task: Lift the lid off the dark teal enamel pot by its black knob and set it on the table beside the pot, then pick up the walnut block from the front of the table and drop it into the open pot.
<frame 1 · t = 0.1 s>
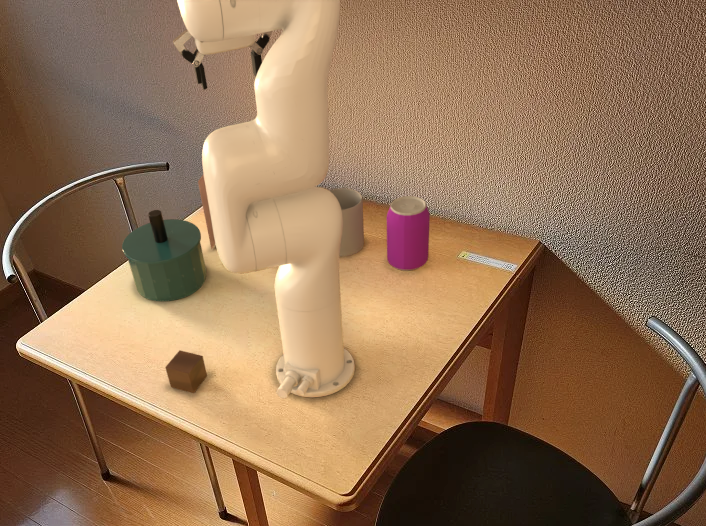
hand: (230, 81, 130), 31 cm above the table, tool pointing down, fingers open, 9 cm apart
beverage can: (407, 262, 138), on the table
greeting card: (233, 236, 152), on the table
lid: (162, 242, 136), point 8 cm above the table, touching pot
cup: (342, 245, 145), on the table
pot: (171, 280, 142), on the table
block: (189, 381, 119), on the table
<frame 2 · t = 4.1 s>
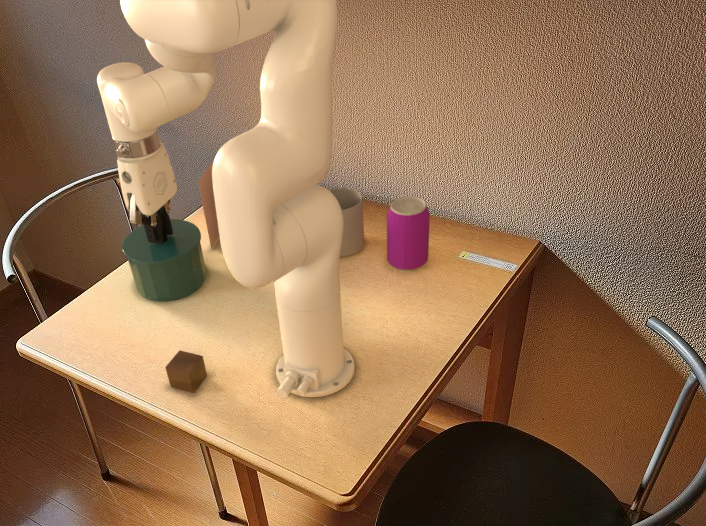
hand: (160, 237, 135), 10 cm above the table, tool pointing down, fingers closed on lid, 2 cm apart
lid: (162, 242, 136), point 9 cm above the table, touching gripper, pot
everything else where it was.
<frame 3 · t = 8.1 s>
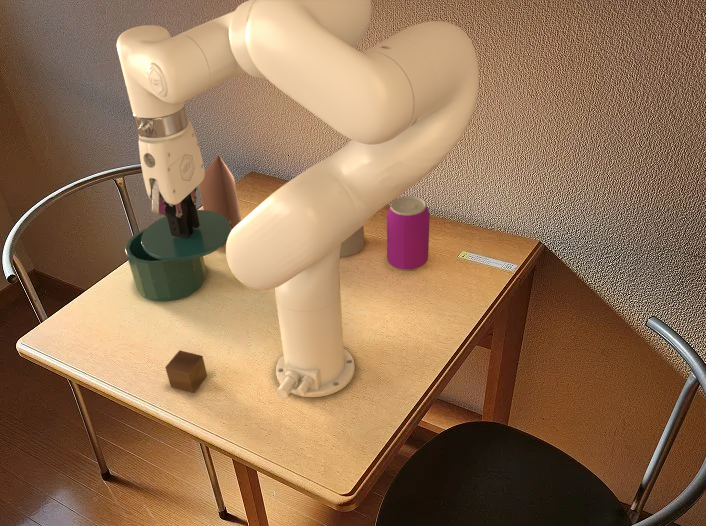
hand: (185, 230, 119), 18 cm above the table, tool pointing down, fingers closed on lid, 2 cm apart
lid: (186, 235, 119), point 17 cm above the table, touching gripper
everything else where it was.
when the fingers open (2 cm above the table, at t = 11.9 s): lid stays where it is, point 1 cm above the table.
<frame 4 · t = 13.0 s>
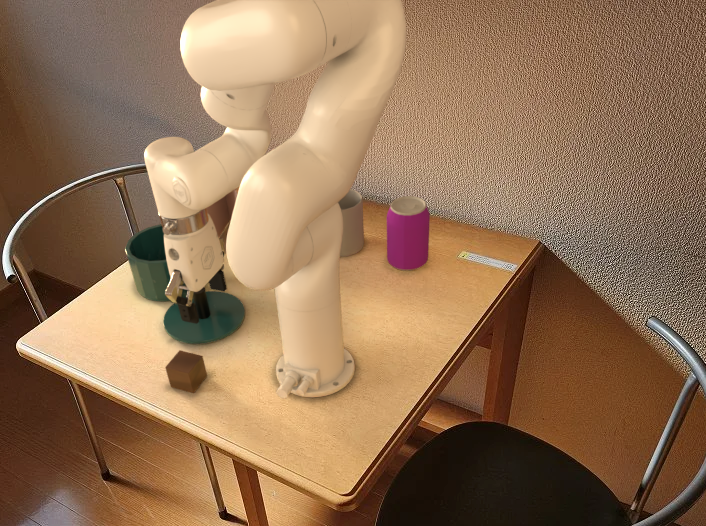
hand: (205, 305, 128), 4 cm above the table, tool pointing down, fingers open, 9 cm apart
lid: (204, 317, 131), point 1 cm above the table
everything else where it was.
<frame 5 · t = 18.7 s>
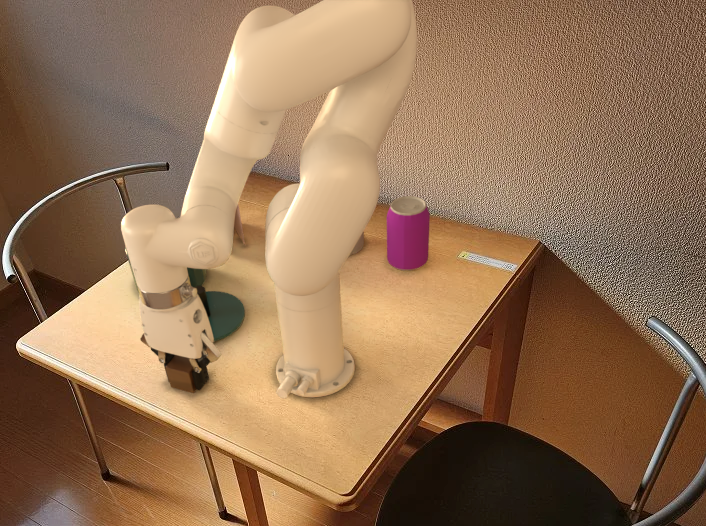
hand: (188, 380, 119), 0 cm above the table, tool pointing down, fingers closed on block, 4 cm apart
block: (189, 381, 119), on the table, touching gripper
everything else where it was.
when the fingers open (9 cm above the table, at t = 26.0 s): block drops 8 cm, resting on pot.
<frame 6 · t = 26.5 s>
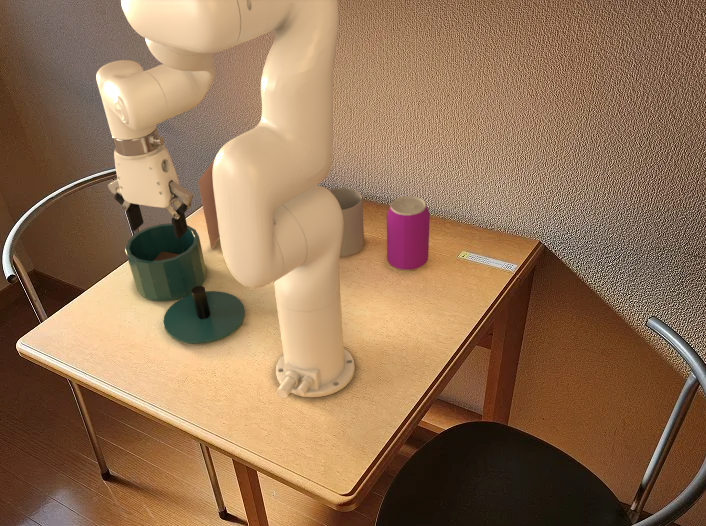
hand: (159, 230, 134), 11 cm above the table, tool pointing down, fingers open, 9 cm apart
block: (170, 278, 141), resting on pot
everything else where it was.
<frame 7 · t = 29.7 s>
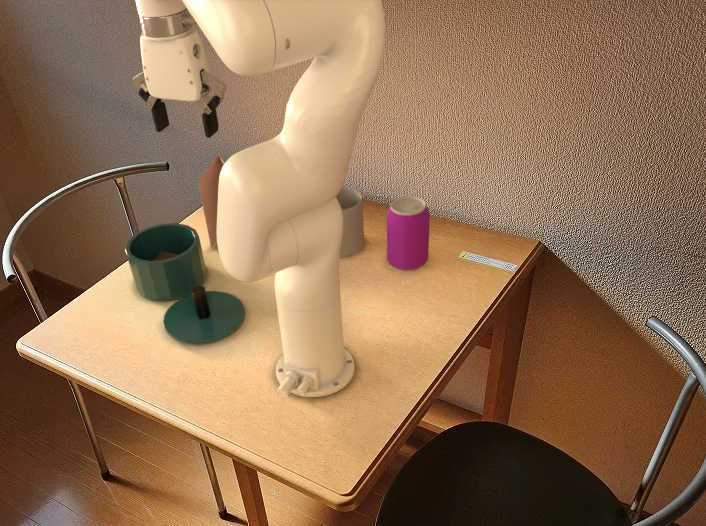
hand: (187, 131, 123), 28 cm above the table, tool pointing down, fingers open, 9 cm apart
nothing on the table moved.
at the end: lid inside the target area (0.2 cm from its centre), point 0.6 cm above the table; lid tilted 0°; block inside the target area in the pot (0.1 cm from its centre), point 0.5 cm above the pot's base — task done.
